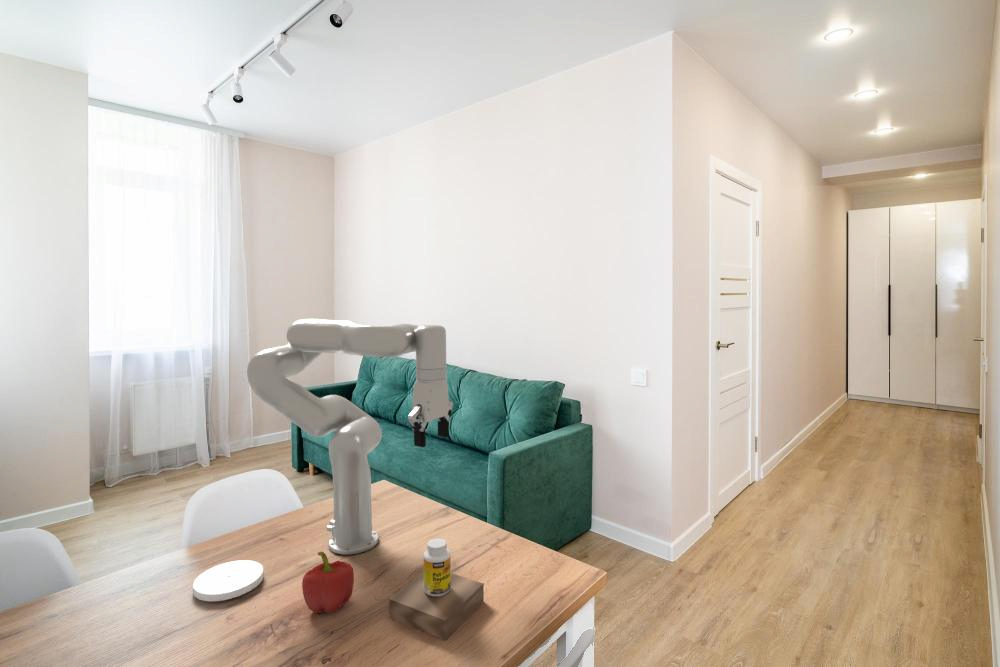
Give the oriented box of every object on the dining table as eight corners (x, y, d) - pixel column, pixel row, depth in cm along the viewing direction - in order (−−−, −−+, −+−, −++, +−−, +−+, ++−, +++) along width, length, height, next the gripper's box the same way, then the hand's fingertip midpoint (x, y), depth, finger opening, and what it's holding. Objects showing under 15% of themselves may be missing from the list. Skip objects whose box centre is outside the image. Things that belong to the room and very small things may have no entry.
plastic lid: (231, 565, 123) (231, 555, 123) (277, 576, 119) (277, 566, 118) (178, 598, 110) (177, 587, 110) (226, 611, 105) (226, 600, 105)
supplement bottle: (430, 601, 102) (430, 552, 101) (419, 587, 106) (418, 541, 106) (455, 592, 105) (455, 544, 104) (443, 579, 109) (442, 534, 109)
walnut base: (389, 617, 103) (388, 598, 103) (430, 583, 115) (430, 566, 115) (445, 640, 96) (445, 620, 96) (483, 601, 108) (483, 583, 108)
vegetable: (295, 601, 108) (294, 556, 108) (343, 584, 115) (342, 542, 114) (311, 628, 100) (310, 579, 99) (362, 608, 106) (361, 562, 105)
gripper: (439, 368, 137) (440, 431, 138) (396, 378, 122) (398, 448, 123) (462, 371, 133) (463, 435, 134) (421, 380, 118) (422, 452, 119)
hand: (432, 441), depth 129 cm, fingers open, 9 cm apart
